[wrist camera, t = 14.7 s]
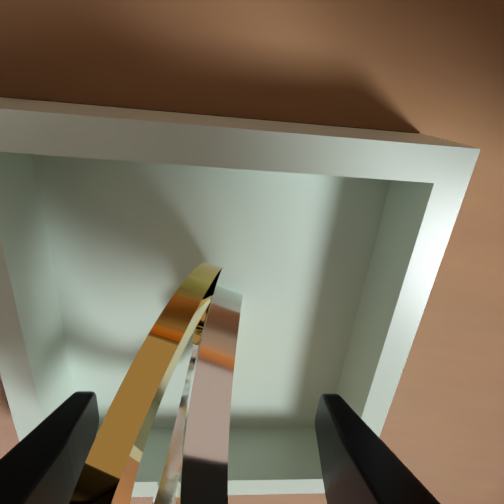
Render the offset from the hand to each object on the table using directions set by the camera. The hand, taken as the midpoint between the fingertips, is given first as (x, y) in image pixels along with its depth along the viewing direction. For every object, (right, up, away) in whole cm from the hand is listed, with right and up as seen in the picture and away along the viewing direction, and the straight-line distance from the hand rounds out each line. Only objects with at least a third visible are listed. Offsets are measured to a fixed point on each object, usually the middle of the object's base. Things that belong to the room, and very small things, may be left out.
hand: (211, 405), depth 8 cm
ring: (0, +2, +3) cm, 4 cm away
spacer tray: (0, +2, +4) cm, 4 cm away
